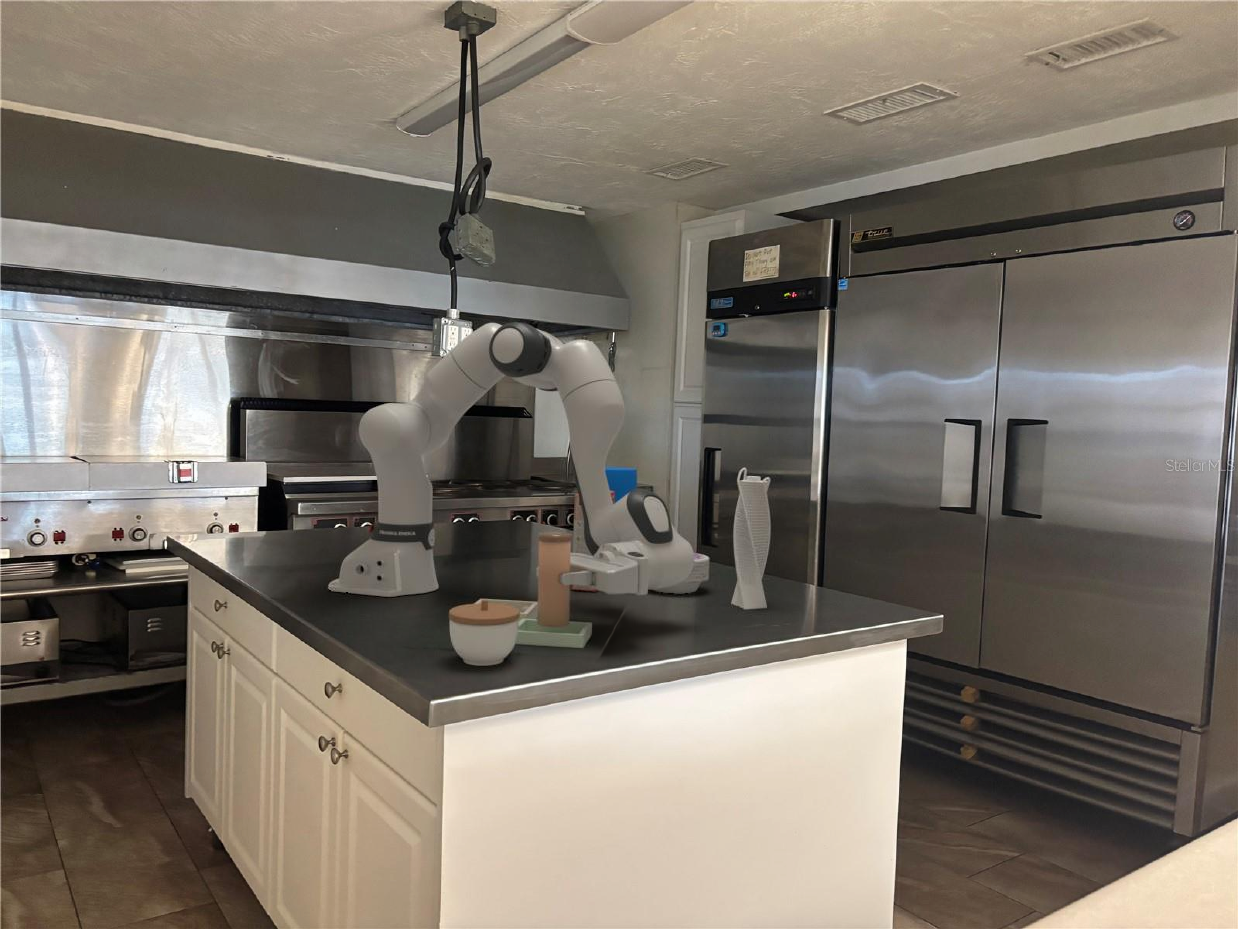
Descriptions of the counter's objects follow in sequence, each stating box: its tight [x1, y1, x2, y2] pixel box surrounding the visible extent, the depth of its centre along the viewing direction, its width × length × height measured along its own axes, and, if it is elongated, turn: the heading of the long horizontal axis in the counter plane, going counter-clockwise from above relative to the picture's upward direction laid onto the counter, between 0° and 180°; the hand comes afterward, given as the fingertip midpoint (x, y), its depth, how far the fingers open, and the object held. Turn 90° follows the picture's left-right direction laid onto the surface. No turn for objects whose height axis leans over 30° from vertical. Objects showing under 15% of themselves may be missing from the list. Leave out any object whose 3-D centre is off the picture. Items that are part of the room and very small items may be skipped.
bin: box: [473, 598, 538, 621], centre depth 162 cm, size 22×10×4 cm, turn 83°
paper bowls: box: [651, 552, 710, 595], centre depth 198 cm, size 15×15×8 cm
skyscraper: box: [731, 467, 772, 610], centre depth 184 cm, size 8×8×28 cm
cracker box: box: [570, 491, 615, 593], centre depth 200 cm, size 14×6×21 cm, turn 166°
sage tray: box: [515, 618, 593, 649], centre depth 149 cm, size 12×9×3 cm
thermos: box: [605, 466, 638, 504], centre depth 217 cm, size 11×11×25 cm
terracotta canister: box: [537, 531, 572, 627], centre depth 149 cm, size 5×5×15 cm
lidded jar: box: [448, 598, 520, 667], centre depth 139 cm, size 11×11×9 cm
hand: (549, 575), depth 148 cm, fingers closed on terracotta canister, 5 cm apart
